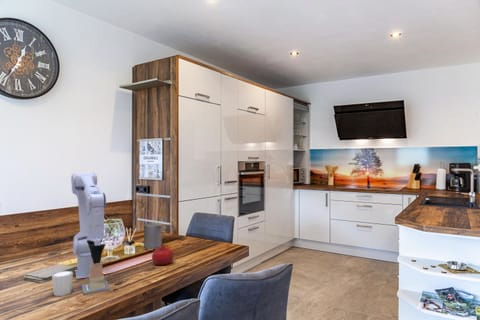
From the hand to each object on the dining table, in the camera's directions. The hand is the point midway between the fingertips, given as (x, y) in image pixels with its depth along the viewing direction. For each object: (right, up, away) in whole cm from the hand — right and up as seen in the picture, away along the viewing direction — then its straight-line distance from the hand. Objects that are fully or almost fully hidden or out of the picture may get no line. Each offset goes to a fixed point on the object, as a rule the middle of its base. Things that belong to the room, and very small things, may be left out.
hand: (95, 260), depth 123 cm
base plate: (0, -10, 0) cm, 10 cm away
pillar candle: (+6, -12, +59) cm, 61 cm away
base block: (0, -10, 0) cm, 10 cm away
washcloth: (-26, -12, +15) cm, 32 cm away
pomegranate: (+18, -11, +31) cm, 37 cm away
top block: (0, -6, 0) cm, 6 cm away
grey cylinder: (-10, -11, -5) cm, 15 cm away
